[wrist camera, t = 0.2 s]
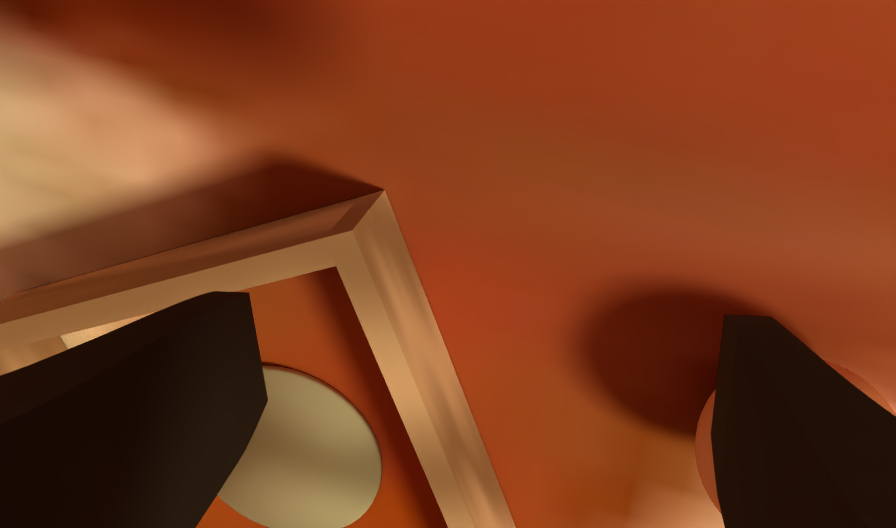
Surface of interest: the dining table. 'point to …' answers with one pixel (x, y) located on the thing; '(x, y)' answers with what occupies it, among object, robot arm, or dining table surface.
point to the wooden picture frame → (293, 392)
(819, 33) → the dining table surface
